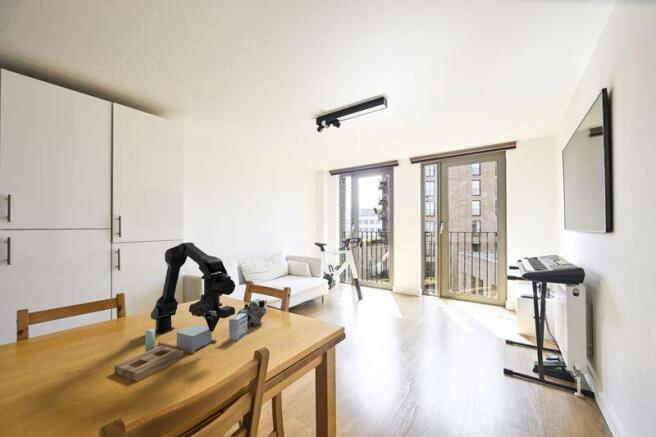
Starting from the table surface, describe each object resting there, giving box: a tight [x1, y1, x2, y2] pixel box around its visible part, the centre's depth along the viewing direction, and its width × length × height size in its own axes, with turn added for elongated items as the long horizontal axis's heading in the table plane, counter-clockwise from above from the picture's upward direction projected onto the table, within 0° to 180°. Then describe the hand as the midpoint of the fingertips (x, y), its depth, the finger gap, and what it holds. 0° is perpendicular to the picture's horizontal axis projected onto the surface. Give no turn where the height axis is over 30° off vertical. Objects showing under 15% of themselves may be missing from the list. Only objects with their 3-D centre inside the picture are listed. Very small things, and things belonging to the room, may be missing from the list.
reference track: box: [157, 338, 217, 355], centre depth 112 cm, size 20×11×1 cm, turn 66°
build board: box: [113, 345, 184, 382], centre depth 95 cm, size 12×16×2 cm
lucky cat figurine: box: [237, 298, 268, 328], centre depth 135 cm, size 15×12×14 cm
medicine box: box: [228, 313, 248, 341], centre depth 119 cm, size 8×4×9 cm, turn 168°
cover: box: [176, 324, 213, 351], centre depth 110 cm, size 9×9×6 cm
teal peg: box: [144, 328, 156, 352], centre depth 103 cm, size 3×3×9 cm
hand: (211, 331), depth 106 cm, fingers closed
